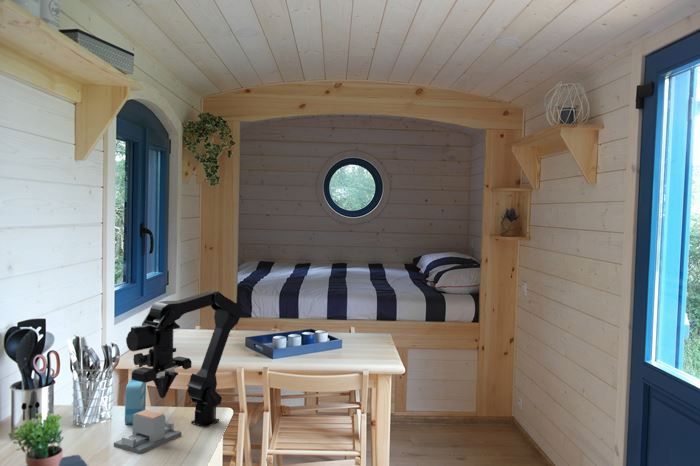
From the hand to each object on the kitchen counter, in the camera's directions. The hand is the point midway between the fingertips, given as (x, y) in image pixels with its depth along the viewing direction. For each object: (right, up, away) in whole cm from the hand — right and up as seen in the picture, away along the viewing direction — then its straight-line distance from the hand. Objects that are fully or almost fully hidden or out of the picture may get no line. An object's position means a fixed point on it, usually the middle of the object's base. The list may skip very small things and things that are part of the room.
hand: (162, 397), depth 171 cm
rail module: (-3, -11, -3) cm, 11 cm away
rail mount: (-3, -12, -3) cm, 12 cm away
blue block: (-13, -11, +15) cm, 23 cm away
